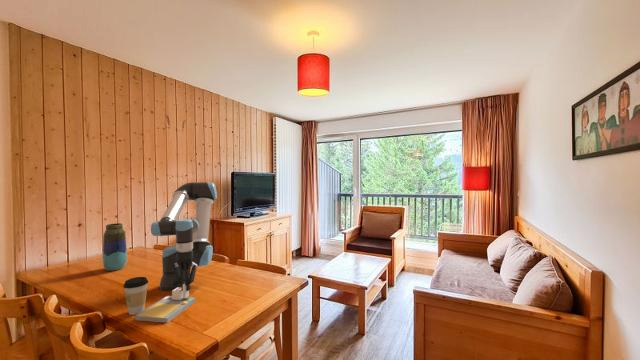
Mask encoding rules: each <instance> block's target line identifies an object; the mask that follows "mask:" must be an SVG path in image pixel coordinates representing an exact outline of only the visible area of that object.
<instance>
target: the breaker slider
mask: <svg viewBox="0 0 640 360" xmlns="http://www.w3.org/2000/svg"><path fill="white" fill-rule="evenodd" d="M171 296H172V300H180V299H182V298H183V291H182V290H181V288H179V287H177V288H176V289H174V290H171Z"/></svg>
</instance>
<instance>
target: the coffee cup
mask: <svg viewBox="0 0 640 360" xmlns="http://www.w3.org/2000/svg"><path fill="white" fill-rule="evenodd" d="M148 283H149V280H148V279H147V277H146V276H136V277H133V278H132V277H131V278H129V279H126V280H125V281H124V284H123V288H124V296H125V301H126V307H127V310H128V314H129V316H130V315H132V316H134V315H135V316H136V315H137V314H139V313H140V312H142V311H144V310H145V307H146V299H147V291H148Z"/></svg>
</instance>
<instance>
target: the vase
mask: <svg viewBox="0 0 640 360" xmlns="http://www.w3.org/2000/svg"><path fill="white" fill-rule="evenodd" d="M123 227H124V226H123V223H118V222H117V223H109V224H106V225H105V231H104V233H103V236H102V257H101V259H102V266H103V268H104V269H105V270H106V271H109V272H113V271H114V270H115V271H118V270H121V269H123V268H125V266H126V265H127V262H128V248H127V238H126V232H125V230H124V228H123Z"/></svg>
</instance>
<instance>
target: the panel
mask: <svg viewBox="0 0 640 360" xmlns="http://www.w3.org/2000/svg"><path fill="white" fill-rule="evenodd" d="M196 300H197V299H196V297H189V296H188V297H186V298H182V299H180V300H172V295H166V296H164V297H163V298H161V299H160V300H159V301H156V302H155V303H153V304H151V305H150V306H148V307H147V308H146V309H144V311H142V312H140V313H139V314H135V316H134V317H135V321H141V322H143V321H144V322H153V323H164V324H165V323H166V324H168V323H169V322H171V320H173V319H175V318H176V317H177V316H178V315H179V316H180V314H181V313H183V312H184V311H185V310H186V309H188V308H190V307H191V306H192V305H193V304H194V303H196Z"/></svg>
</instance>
